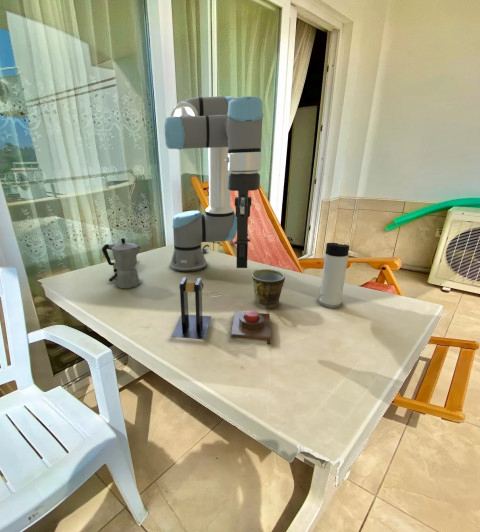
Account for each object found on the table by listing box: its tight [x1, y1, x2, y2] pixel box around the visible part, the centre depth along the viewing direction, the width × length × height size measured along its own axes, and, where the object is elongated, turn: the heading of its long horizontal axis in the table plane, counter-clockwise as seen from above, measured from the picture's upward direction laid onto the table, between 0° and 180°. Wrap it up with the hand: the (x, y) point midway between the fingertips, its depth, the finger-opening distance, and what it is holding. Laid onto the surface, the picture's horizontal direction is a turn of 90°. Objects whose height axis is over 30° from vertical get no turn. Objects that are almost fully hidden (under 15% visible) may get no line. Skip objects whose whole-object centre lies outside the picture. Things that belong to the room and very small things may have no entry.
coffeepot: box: [101, 238, 142, 289], centre depth 113 cm, size 15×9×18 cm, turn 79°
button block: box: [230, 311, 272, 345], centre depth 83 cm, size 12×10×4 cm
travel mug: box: [318, 242, 350, 309], centre depth 92 cm, size 6×7×20 cm
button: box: [244, 309, 260, 322], centre depth 82 cm, size 4×4×2 cm
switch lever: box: [186, 280, 204, 293], centre depth 85 cm, size 13×3×3 cm, turn 168°
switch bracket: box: [171, 277, 212, 341], centre depth 82 cm, size 12×9×15 cm
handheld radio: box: [108, 256, 138, 282], centre depth 128 cm, size 7×3×25 cm
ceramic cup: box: [251, 268, 286, 309], centre depth 94 cm, size 13×10×10 cm
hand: (241, 267), depth 79 cm, fingers closed
